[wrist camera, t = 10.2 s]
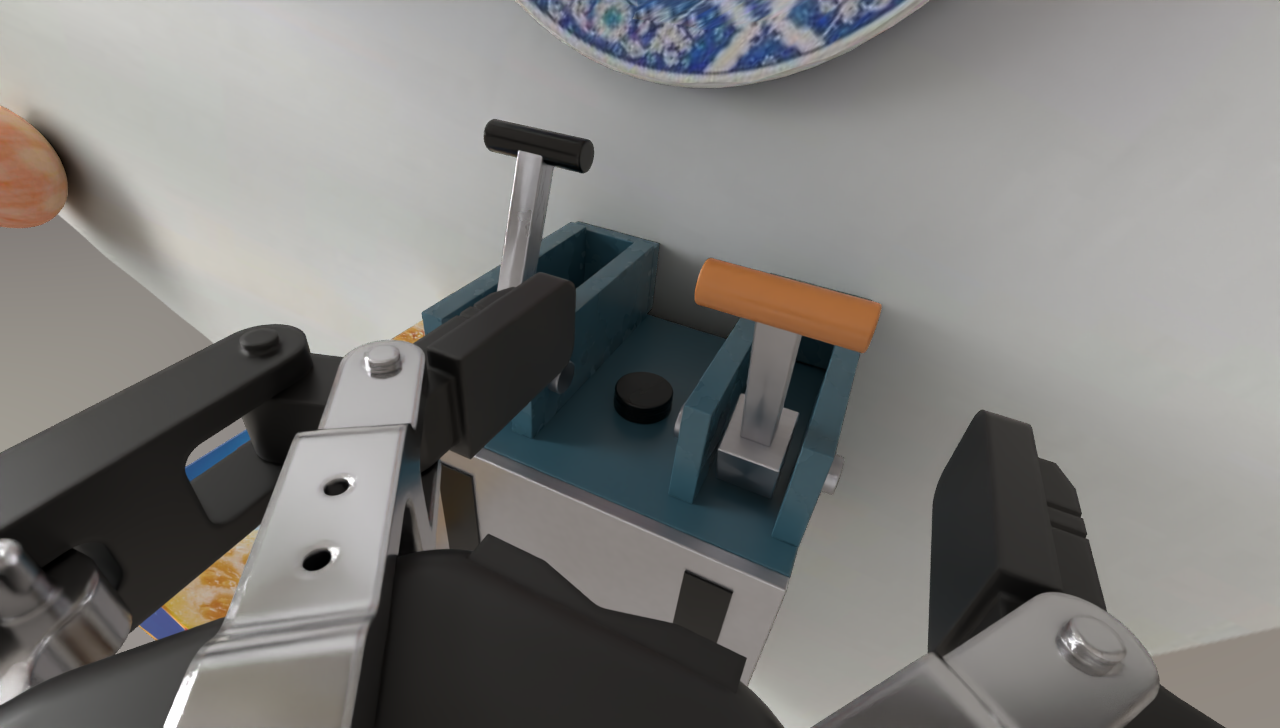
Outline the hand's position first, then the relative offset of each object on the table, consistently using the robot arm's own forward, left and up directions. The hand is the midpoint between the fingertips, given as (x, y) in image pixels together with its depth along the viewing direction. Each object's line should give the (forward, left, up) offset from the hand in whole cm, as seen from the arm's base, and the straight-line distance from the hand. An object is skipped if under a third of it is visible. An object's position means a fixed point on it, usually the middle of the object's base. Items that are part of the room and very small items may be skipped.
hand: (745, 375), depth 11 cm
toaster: (+15, -6, -17) cm, 23 cm away
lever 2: (+4, 0, -6) cm, 7 cm away
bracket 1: (+8, -11, -17) cm, 22 cm away
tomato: (+13, -68, -18) cm, 72 cm away
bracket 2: (+8, 0, -17) cm, 19 cm away
